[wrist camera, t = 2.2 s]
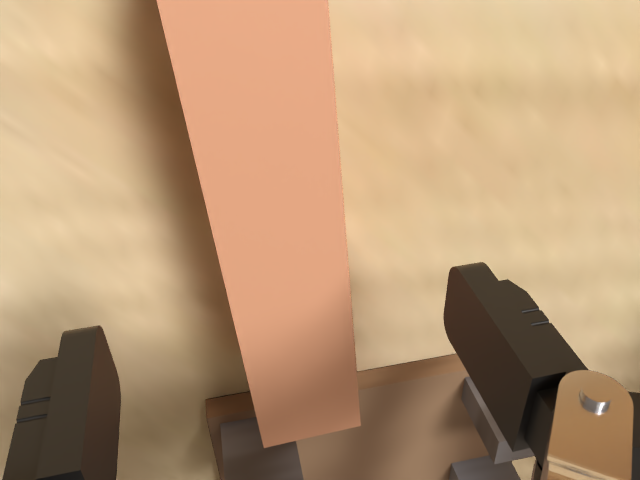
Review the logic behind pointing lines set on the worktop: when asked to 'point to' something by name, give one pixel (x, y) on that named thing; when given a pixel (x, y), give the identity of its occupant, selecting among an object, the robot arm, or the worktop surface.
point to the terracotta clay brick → (273, 199)
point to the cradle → (377, 433)
